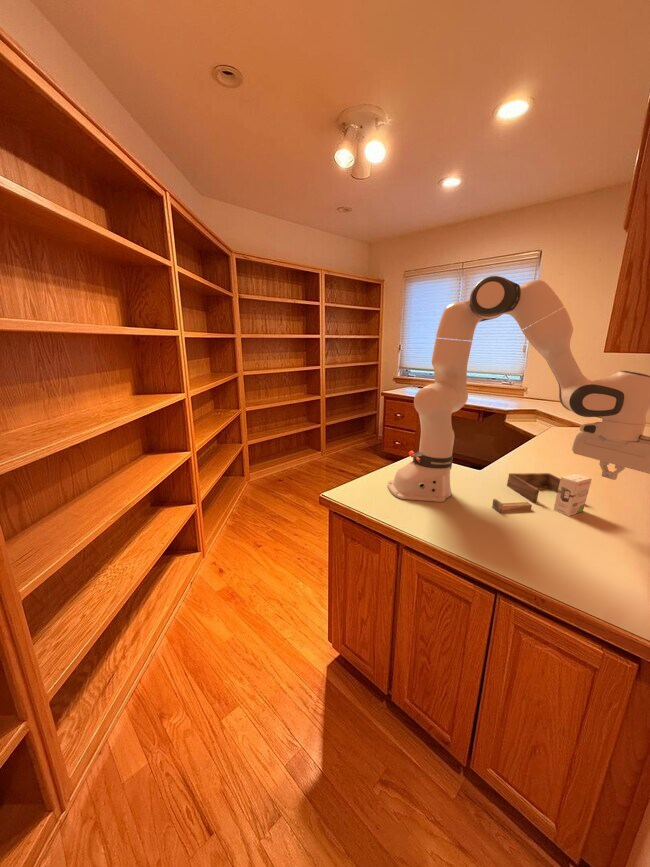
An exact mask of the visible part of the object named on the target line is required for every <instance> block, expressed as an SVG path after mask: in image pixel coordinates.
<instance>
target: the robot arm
mask: <svg viewBox="0 0 650 867" xmlns="http://www.w3.org/2000/svg"><path fill="white" fill-rule="evenodd" d="M503 315H509V316H511V317H513V319H514V320H515V322H516V323H517V325H518V326H519V329H520V330H521V332H522V334H523V335H524V336H525V339H527V341H528V343H530V345H531V346H532V347H533V348H534V349H535V350H536V351H537V352H538V354H540V355H541V357H542V358H544V360H545V362H546V363H547V365H548V366H549V369H550V370H551V372H552V373H553V376H554V377H555V380H556V381H557V383H558V389H559V390H558V392H559V393H558V395H559V396H558V397H559V402H560V404H561V405H562V407H563V408H564V409H566V410H567V411H570V412H572V413H574V414H575V415H577V416H579V417H582V418H600V417H602V419H601V421H596V422H590V423H584V424H583V423H582V424H581V425H580V426H579V431H580V432H578V433H577V434H576V436H575V437H574V440H573V442H572V443H573V444H572V446H571V447H572V448H571V450H572V453H573V454H574V455H577V456H578V455H579V456H582V457H586V458H590V459H592V460H593V459H594V460H597V461H599V466H600V470H601V477H603V478H607V479H609V480H613V481H615V480H617V478H618V475H619V474H620V473H621V472H623V471H624V470H625V469H626V468H627V469H630V470H633V471H638V472H641V473H645V474H648V475H650V436H647V435H644V431H645V428H646V423H647V417H646V416H647V413H648V411H649V410H650V375H649V374H646V373H645V374H644V373H641V372H635V371H630V370H619V371H617V372H616V373H613V374H611V375H609V376H606V377H603V378H600V379H595V380H592V381H591V380H590V379H589V378H588V377H587V376H585V375H584V374H583V372H582V371H581V369H580V367H579V365H578V362H577V361H576V359H575V357H574V355H573V352H572V350H571V339H572V336H573V333H574V332H573V331H574V327H573V322H572V320H571V317H570V314H569V313H568V311H567V309H566V307H565V305H564V304H563V302H562V300H561V299H560V297H559V296H558V295H557V294H556V292H555V291H554V289H552V287H551V286H550V285H549V284H548V283H547V282H545V280H541V279H535V280H531V281H528V282H527V281H526V282H525V283H523V284H521V285H519V284H518V283H516V282H514V281H511V280H510V279H508V278H505V277H503V276H499V275H490V276H487V277H484V278H483V279H481V280H479V281H478V282H477V283H476V285H474V286H473V289H472V290H471V292H470V295H469V299H468V300H466V301H456V302H452V303H450V304H449V305H447V306H446V307H445V308H444V309H443V312H442V314H441V318H440V320H439V324H438V326H437V330H436V331H437V332H436V334H435V335H436V336H435V339H434V340H435V341H434V346H433V350H432V351H433V352H432V358H431V365H432V367H433V372H434V374H433V375H434V383H430V384H428V385H427V384H426V385H425V386H424V387H422V388H420V389H419V390H418V391H417V392H416V393H415V396H414V398H413V406H414V409H415V410H416V412H417V414H418V417H419V423H420V436H419V437H420V439H419V448H418V450H417V452H414V451H413V450H410V451H409V452H408V455H409V457H411V458H412V461H409V463H407V464H405V465H404V466H402V467H400V468H399V469H397V471H396V473H395V476H394V479H392V480H389V481H388V482H387V489H388V490H389V492H390V493H391V494H392V496H394V497H396V498H398V499H400V500H409V501H410V500H411V501H412V500H413V501H425V502H438V503H439V502H440V503H443V502H445V500H446V499H448V498H449V497H451V495H452V488H451V487H452V486H451V470H452V467H453V459H454V456H453V449H454V442H455V431H454V429H453V424H452V414H453V413H456V412H458V411H459V410H461V409H462V408H463V407H464V406H465V405H466V403H467V401H468V398H469V393H468V391H467V379H468V378H467V377H468V376H467V375H468V374H467V373H468V364H469V359H470V355H471V348H472V344H473V339H474V335H475V334H474V333H475V331H476V328H477V326H478V324H479V323H480V322H484V321H485V322H486V321H488V320H494V319H497V318H498V317H501V316H503ZM610 464H611V465H614V469H615V470H614V471H612V470H611V471H610V470H609V468H608V466H609V465H610Z"/></svg>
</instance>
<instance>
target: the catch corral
mask: <svg viewBox="0 0 650 867" xmlns="http://www.w3.org/2000/svg"><path fill="white" fill-rule="evenodd" d="M560 480H561V477H557V476H555V475H554V474H552V473H549V472H544V473H543V472H539V473H538V472H537V473H536V472H532V473H531V472H528V473H526V472H524V473H521V472H520V473H519V472H518V473H515V472H514V473H511V472H510V473H508V477H507V481H506V482H507V483H506V487H508V488H509V489H510V490H513V491H514V492H516V494H517V493H518V494H519V495H521V496H522V497H523V498H525V499H526V500H528V501H529V502H531V504H532V503H533V504H536V503H537V502H538V497H539V492H540V489H539V488H538V487H544V488H545V487H546V488H548V489H550V490H551V491H554V492H555V493H556V494H557V493H558V488H559V484H560Z"/></svg>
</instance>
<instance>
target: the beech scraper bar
mask: <svg viewBox="0 0 650 867" xmlns="http://www.w3.org/2000/svg"><path fill="white" fill-rule="evenodd" d="M532 507H533V504H532V503H530V502H528V501H524V502H523V501H522V502H521V501H520V502H519V501H518V502H503V503H502V502H501V501H499V500H498V499H497V498H493V500H492V505H491V509H493V510H495V511H496V512H497V513H498V514H502V512H506V513H507V512H521V511H522V512H523V511H524V512H525V511H532Z"/></svg>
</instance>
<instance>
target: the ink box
mask: <svg viewBox="0 0 650 867" xmlns="http://www.w3.org/2000/svg"><path fill="white" fill-rule="evenodd" d="M560 479H561V480H560V484H559V488H558V493H557V492H556V497H555V502H554V506H553V510H554V511H556V512H558V513H561V514H562V515H563V514H564V515H565V516H568V517H570V516H572V515H575V514H578V513H581V512H583V511H584V509H585V506H586V502H587V499H588V494H589V490H590V487H591V483H592V478H591V477H588V476H585V475H582V474H580V473H579V474H578V473H573V474H568V475H564V476H561V477H560Z"/></svg>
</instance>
